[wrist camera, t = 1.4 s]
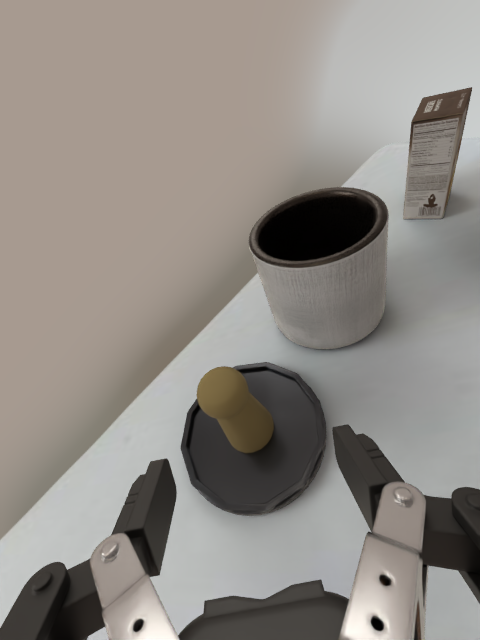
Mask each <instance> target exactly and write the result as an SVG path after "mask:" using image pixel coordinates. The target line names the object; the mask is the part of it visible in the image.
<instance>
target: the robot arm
mask: <svg viewBox="0 0 480 640" xmlns="http://www.w3.org/2000/svg"><path fill="white" fill-rule="evenodd" d="M332 431H333V439H334V446H335V454H336V459H337V462H338V465H339V468H340V470H341V472H342V474H343V476H344V478H345V480H346V482H347V484H348V486H349V488H350V490H351V492H352V494H353V496H354V498H355V500H356V502H357V504H358V506H359V508H360V510H361V512H362V514H363V516H364V518H365V520H366V522H367V524H368V526H369V528H370V530H371V532H372V533H371V532H368V533H367V535H366V538H365V541H364V545H363V549H362V553H361V556H360V560H359V564H358V568H357V572H356V575H355V579H354V583H353V587H352V591H351V594H350V598H349V599H347V598H346V597H343V596H341V595H339V594H335V593H332V592H327V591H324V588H323V584H322V581H321V580H316V581H311V582H305V583H300V584H294V585H291V586H289V587H287V588H285V589H284V590H282V591H280V592H278V593H276V594H274V595H272V596H270V597H268V598H266V599H254V598H246V597H239V596H229V597H224V598H218V599H213V600H207V601H205V602H204V614H202V615H200V616H199V617H197V618H196V619H194V620H193V621H192V622H191V623H190V624H188V625H187V626H186V627H185V628H184V629H183V631H182V632H181V633H180V634H179V635H177V633H176V631H175V629H174V627H173V625H172V623H171V621H170V619H169V617H168V615H167V613H166V611H165V609H164V606H163V604H162V602H161V600H160V598H159V596H158V594H157V592H156V590H155V588H154V586H153V584H152V582H151V580H150V578H149V577H152V576H158V575H160V571H161V566H162V561H163V557H164V552H165V548H166V543H167V539H168V534H169V529H170V525H171V520H172V516H173V511H174V506H175V502H176V485H175V481H174V478H173V474H172V471H171V468H170V464H169V461H168V459H161V460H156V461H151V462H150V464H149V466H148V469H147V472H146V474H144V475H140V476H139V477H138V479H137V480H136V481H135V482H134V483H133V485H132V487H131V489H130V491H129V494H128V497H127V499H126V501H125V505H124V506H123V508H122V511H121V513H120V515H119V518H118V520H117V522H116V525H115V527H114V530H113V532H112V534H111V536H109V537H108V538H106V539H105V540H103V541H102V542H101V543H100V544H99V545H98V546H97V547H96V549H95V550H94V552H93V554H92V556H91V558H90V559H89V560H87V561H85V562H83V563H81V564H79V565H77V566H75V567H73V568H70V569H68V570H67V569H66V567H65V565H64V564H63V563H61V562H54V563H51V564H49V565H47V566H45V567H43V568H42V569H40V570H39V571H38V572H36V573H35V574H34V575H33V576H32V577H31V578H30V579H29V581H28V582H27V583H26V584H25V586H24V588H23V589H22V591H21V593H20V595H19V596H18V598H17V600H16V602H15V603H14V605H13V607H12V609H11V610H10V612H9V614H8V616H7V617H6V619H5V621H4V623H3V624H2V626H1V628H0V640H87V638H88V636H89V635H91V634H93V633H94V632H96V631H98V630H100V629H101V628H103V627H106V630H107V634H108V638H109V640H425V612H426V597H427V582H428V568H429V566H435V567H441V568H447V569H453V570H458V571H459V572H460V574H461V575H462V577H463V579H464V580H465V582H466V583H467V585H468V586H469V588H470V589H471V591H472V592H473V594H474V595H475V597H476V598H477V600H478V602H479V603H480V490H479V489H475V488H470V487H462V488H458V489H456V490H455V491H454V492H453V493H452V499H450V498H439V497H431V496H426V495H423V494H422V493H421V491H420V490H418V489H417V488H416V487H414V486H412V485H410V484H408V483H405V482H404V480H403V479H402V478H401V476H400V475H399V474H398V473H397V471H396V470H395V469H394V467H393V466H392V465H391V463H390V462H389V461H388V459H387V458H386V457H385V456H384V454H383V453H382V451H381V450H379V447H378V446H377V445H376V443H375V442H374V441H373V440H372V439H371V438H369V437H368V436H366V435H365V434H358V435H356V434H355V433H354V431H353V430H352V428H351V427H350V426H349V425H343V426H338V427H333V428H332Z"/></svg>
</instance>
